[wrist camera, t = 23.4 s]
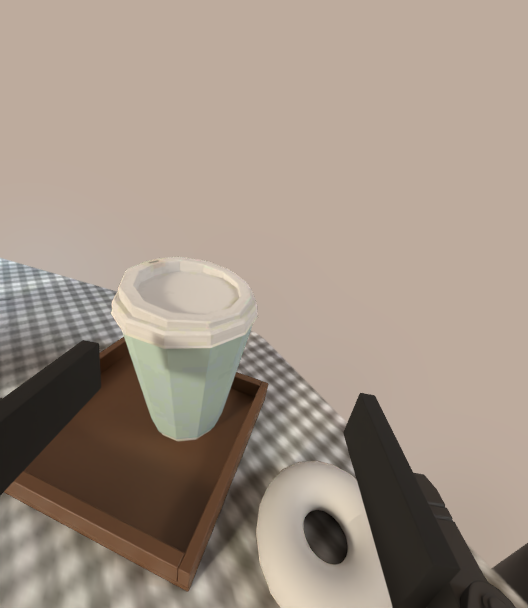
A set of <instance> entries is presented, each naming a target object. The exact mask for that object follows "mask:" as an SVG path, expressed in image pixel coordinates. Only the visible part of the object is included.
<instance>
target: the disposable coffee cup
mask: <svg viewBox="0 0 528 608" xmlns="http://www.w3.org/2000/svg"><path fill="white" fill-rule="evenodd" d="M257 309H258V306H257V303H256V300H255V298H254V295H253V292H252V290H251V289H250V288H249V286H248V283H247V282H245V281H244V280H243V279H241V278H240V277H239V276H237V275H236V274H235V273H233V272H232V271H231V270H229V269H226V268H223V267H221V266H218V265H215V264H213V263H210V262H208V261H204V260H197V259H190V258H183V257H171V258H161V259H154V260H150V261H146V262H143V263H141V264H138V265H136V266H134V267H131V268H129V269H127V270H126V272H125V274H124V276H123V278H122V280H121V282H120V284H119V286H118V292H117V293H116V295H115V297H114V299H113V301H112V312H111V315H112V316H113V318H114V319H115V321H116V322H117V324H118V325H119V327H120V328H121V330H122V332H123V335H124V338H125V341H126V344H127V347H128V350H129V353H130V356H131V359H132V362H133V365H134V368H135V371H136V374H137V377H138V380H139V383H140V386H141V389H142V392H143V395H144V398H145V401H146V404H147V407H148V410H149V413H150V416H151V418H152V420H153V422H154V424H155V425H156V427H157V429H158V431H159V432H161V433H162V435H164V436H167V437H169V438H171V439H173V440H176V441H186V440H196V439H198V438H199V437H201V436H202V435H204V434H206V433H207V432H209V431H210V430H211V429H212V428H213V427H214V426H215V424H216V422H217V421H218V419H219V417H220V415H221V414H222V411H223V409H224V406H225V403H226V400H227V397H228V394H229V391H230V388H231V385H232V383H233V380H234V377H235V374H236V371H237V368H238V365H239V362H240V360H241V357H242V354H243V351H244V348H245V345H246V342H247V339H248V336H249V334H250V331H251V328H252V325H253V323H254V321H255V320H256V319H257V317H258V315H257Z"/></svg>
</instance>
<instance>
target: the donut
mask: <svg viewBox="0 0 528 608" xmlns="http://www.w3.org/2000/svg"><path fill="white" fill-rule="evenodd" d="M312 510H322V511H325V512H326V513H328V514H330V515H331V516H332V517H333V518H334V519H335V520H336V521H337V522H338V523H339V525H340V526H341V528H342V529H343V531H344V533H345V536H346V539H347V547H348V551H347V556H346V558H345V560H344V561H343V562H342V563H340V564H335V565H333V564H329V563H325V562H324V561H323V560H321V559H320V558H318V557H317V556H316V555H315V554H314V552H313V551H312V550H311V549H310V547H309V545H308V543H307V541H306V538H305V534H304V530H303V522H304V519H305V516H306V515H307V514H308V513H309V512H310V511H312ZM256 537H257V545H258V554H259V562H260V566H261V568H262V571H263V574H264V576H265V579H266V582H267V585H268V587H269V590H270V593H271V595H272V596H273V598H274V599H275V600H276V602H277V603H278V605H279V606H280V608H393V607H392V603H391V600H390V596H389V593H388V589H387V586H386V582H385V579H384V575H383V571H382V568H381V564H380V561H379V557H378V554H377V550H376V547H375V543H374V539H373V536H372V532H371V529H370V525H369V522H368V518H367V515H366V511H365V507H364V504H363V500H362V497H361V493H360V490H359V486H358V483H357V480H356V479H355V478H354V477H353V476H352V475H351V474H349V473H347V472H345V471H343V470H342V469H340V468H338V467H336V466H334V465H332V464H328V463H324V462H319V461H306V462H298V463H296V464H293V465H291V466H289V467H287V468H285V469H283V470H282V471H281V472H280V473H279V474H278V475H277V476H276V477H275V478H274V479H273V480H272V481H271V482H270V484H269V485H268V487H267V490H266V492H265V494H264V496H263V498H262V501H261V503H260V506H259V513H258V520H257V528H256Z"/></svg>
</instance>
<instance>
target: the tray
mask: <svg viewBox="0 0 528 608" xmlns="http://www.w3.org/2000/svg"><path fill="white" fill-rule="evenodd" d="M99 356H100V374H101V389H100V390H99V391H98V392H97V393H96V394H95V395H94V396H93V397H92V398H91V399H90V400H89V401H88V402H87V404H86V405H85V406H84V407H83V408H82V409H81V410H80V411H79V412H78V413H77V414H76V415H75V416H74V417H73V418H72V420H71V421H70V422H69V423H68V424H67V425H66V426H65V427H64V428H63V429H62V430H61V431H60V432H59V433H58V435H57V436H56V437H55V438H54V439H53V440H52V441H51V442H50V443H49V444H48V445H47V446H46V447H45V448H44V449H43V451H42V452H41V453H40V454H39V455H38V456H37V457H36V458H35V459H34V460H33V461H32V462H31V463H30V464H29V466H28V467H27V468H26V469H25V470H24V471H23V472H22V473H21V474H20V475H19V476H18V477H17V478H16V479H15V480H14V482H13V483H12V484H11V485H10V486H9V487H8V488H7V489H6V490H5V491H4V492H5V493H6V494H8V495H10V496H12V497H14V498H16V499H18V500H19V501H21V502H23V503H25V504H27V505H29V506H30V507H32V508H34V509H36V510H38V511H40V512H42V513H43V514H45V515H47V516H49V517H51V518H53V519H54V520H56V521H58V522H60V523H62V524H64V525H66V526H67V527H69V528H71V529H73V530H75V531H77V532H78V533H80V534H82V535H84V536H86V537H88V538H90V539H91V540H93V541H95V542H97V543H99V544H101V545H102V546H104V547H106V548H108V549H110V550H112V551H114V552H115V553H117V554H119V555H121V556H123V557H125V558H126V559H128V560H130V561H132V562H134V563H136V564H138V565H139V566H141V567H143V568H145V569H147V570H149V571H150V572H152V573H154V574H156V575H158V576H160V577H162V578H163V579H165V580H167V581H169V582H171V583H173V584H174V585H176V586H178V587H180V588H182V589H184V590H186V591H189V589H190V586H191V584H192V581H193V579H194V576H195V574H196V571H197V569H198V566H199V564H200V561H201V559H202V556H203V554H204V551H205V548H206V546H207V543H208V541H209V538H210V536H211V533H212V531H213V528H214V526H215V523H216V521H217V518H218V516H219V513H220V511H221V508H222V506H223V503H224V501H225V498H226V496H227V493H228V490H229V488H230V485H231V483H232V480H233V478H234V475H235V473H236V470H237V468H238V465H239V463H240V460H241V458H242V455H243V453H244V450H245V448H246V445H247V443H248V440H249V438H250V435H251V432H252V430H253V427H254V425H255V422H256V420H257V417H258V415H259V412H260V410H261V407H262V405H263V402H264V400H265V396H266V392H267V388H268V383H266V382H263V381H260V380H258V379H255V378H252V377H249V376H246V375H244V374H241V373H238V372H236V374H235V377H234V380H233V383H232V385H231V388H230V391H229V394H228V397H227V400H226V403H225V406H224V409H223V411H222V414H221V415H220V417H219V419H218V421H217V422H216V424H215V426H214V427H213V428H212V429H211V430H210V431H209V432H207V433H206V434H204V435H202V436H201V437H199V438H198V439H196V440H186V441H176V440H173V439H171V438H169V437H167V436H164V435H162V433H161V432H159V431H158V429H157V427H156V425H155V424H154V422H153V420H152V418H151V416H150V413H149V410H148V407H147V404H146V401H145V398H144V395H143V392H142V389H141V386H140V383H139V380H138V377H137V374H136V371H135V368H134V365H133V362H132V359H131V356H130V353H129V350H128V347H127V344H126V341H125V338H124V337H123V338H121V339H120V340H118V341H117V342H115V343H114V344H112V345H111V346H109V347H108V348H106V349H105V350H103V351H102V352H101V353H99Z"/></svg>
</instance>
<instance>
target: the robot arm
mask: <svg viewBox="0 0 528 608" xmlns="http://www.w3.org/2000/svg"><path fill="white" fill-rule="evenodd" d="M100 389H101V374H100V356H99V343H95V342H90V341H85V340H83V341H81V342H80V343H79V344H77V345H76V346H74V347H73V348H72V349H70V350H69V351H68V352H66V353H65V354H63V355H62V356H61V357H59V358H58V359H56V360H55V361H54V362H52V363H51V364H50V365H48V366H47V367H45V368H44V369H43V370H41V371H40V372H39V373H37V374H36V375H34V376H33V377H32V378H30V379H29V380H28V381H26V382H25V383H23V384H22V385H21V386H19V387H18V388H16V389H15V390H14V391H12V392H11V393H10V394H8V395H7V396H5V397H4V398H3V399H2V398H0V495H1V494H2V493H3V492H4V491H5V490H6V489H7V488H8V487H9V486H10V485H11V484H12V483H13V482H14V480H15V479H16V478H17V477H18V476H19V475H20V474H21V473H22V472H23V471H24V470H25V469H26V468H27V467H28V466H29V464H30V463H31V462H32V461H33V460H34V459H35V458H36V457H37V456H38V455H39V454H40V453H41V452H42V451H43V449H44V448H45V447H46V446H47V445H48V444H49V443H50V442H51V441H52V440H53V439H54V438H55V437H56V436H57V435H58V433H59V432H60V431H61V430H62V429H63V428H64V427H65V426H66V425H67V424H68V423H69V422H70V421H71V420H72V418H73V417H74V416H75V415H76V414H77V413H78V412H79V411H80V410H81V409H82V408H83V407H84V406H85V405H86V404H87V402H88V401H89V400H90V399H91V398H92V397H93V396H94V395H95V394H96V393H97V392H98V391H99V390H100ZM343 433H344V436H345V440H346V444H347V447H348V451H349V454H350V458H351V461H352V465H353V468H354V472H355V476H356V479H357V483H358V486H359V490H360V493H361V497H362V500H363V504H364V507H365V511H366V515H367V518H368V522H369V525H370V529H371V532H372V536H373V539H374V543H375V547H376V550H377V554H378V557H379V561H380V564H381V568H382V571H383V575H384V579H385V582H386V586H387V589H388V593H389V596H390V600H391V603H392V607H393V608H516V607H515V606H514V605H513V603H512V602H511V601H510V600H509V599H508V598H507V597H506V596H505V595H504V594H503V593H502V592H501V591H500V590H499V589H497V588H496V587H494V586H493V585H491V584H490V583H488V581H487V580H486V578H485V577H484V575H483V573H482V571H481V570H480V568H479V566H478V564H477V562H476V560H475V559H474V557H473V555H472V553H471V551H470V550H469V548H468V546H467V544H466V542H465V540H464V539H463V537H462V535H461V533H460V531H459V530H458V528H457V526H456V524H455V522H453V520H452V517H451V515H450V513H449V511H448V509H447V508H445V504H444V502H443V500H442V499H441V497H440V495H439V493H438V491H437V489H436V488H435V487H434V486H433V485H432V483H431V482H430V481H429V480H428V479H427V478H426V476H425V475H423V474H417V473H413V472H412V470H411V468H410V466H409V463H408V461H407V459H406V457H405V455H404V453H403V451H402V449H401V447H400V445H399V443H398V441H397V439H396V437H395V435H394V433H393V431H392V429H391V427H390V425H389V423H388V421H387V419H386V417H385V415H384V413H383V411H382V409H381V407H380V405H379V403H378V401H377V399H376V397H375V396H374V395H368V394H364V393H360V394H359V397H358V399H357V401H356V404H355V406H354V409H353V411H352V413H351V416H350V418H349V420H348V423H347V425H346V428H345V430H344V432H343Z"/></svg>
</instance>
